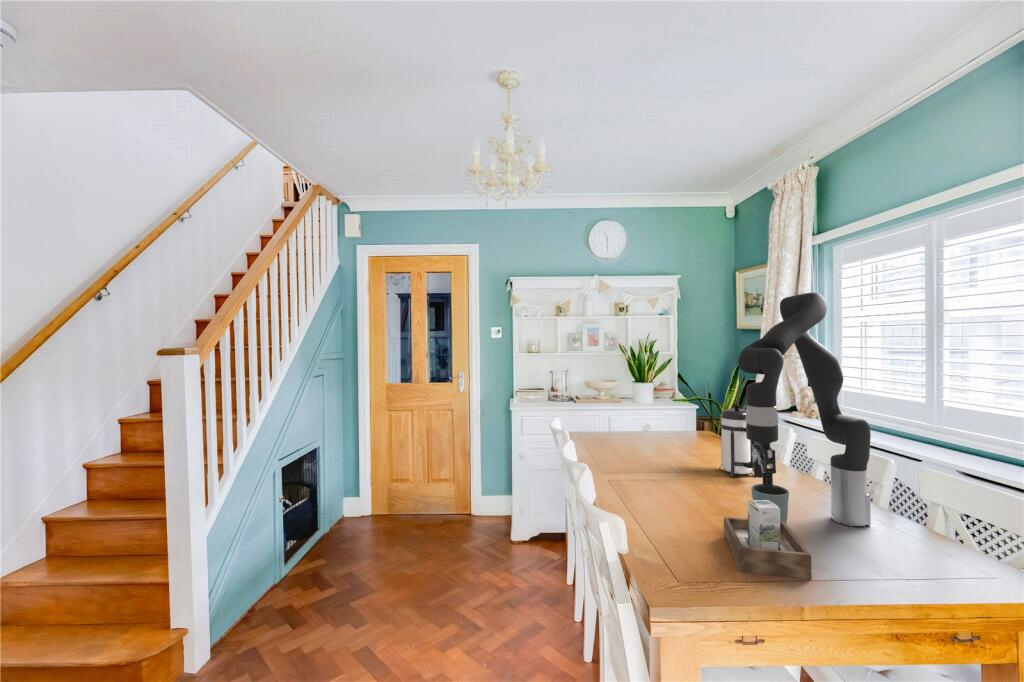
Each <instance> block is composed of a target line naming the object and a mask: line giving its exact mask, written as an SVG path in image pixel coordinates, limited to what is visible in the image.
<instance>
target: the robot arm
mask: <svg viewBox="0 0 1024 682" xmlns="http://www.w3.org/2000/svg"><path fill="white" fill-rule="evenodd" d="M827 309H828V306H827V302H826V300H825V298H824V296H823V295H822V294H820V293H819V292H805V293H801V294H795V295H791V296H786V297H784V298H782V299H781V300H780V303H779V312H780V316H781V319H782V321H780V322H779V323H776V324H775V325H773V326H772V327H771V328H770V329H769V330H768V331H767V332H766V333H765V334H764V335H763V336H762V337H761V338H760V339H758V340H755V341H754V342H752V343H750V344H749V345H747V346H745V347H744V348H743V349H742V350H741V352H740V353H739V355H738V358H737V365H738V367H739V369H740V370H741V371H742V372H744V373H746V374H749V375H750V374H751V375H764V376H763V379H762V380H761V381H759V382H751V383H748V384H747V385H746V390H745V391H746V393H745V394H746V409H745V410H746V437H747V439H749V440H750V441H751V459H753V460H752V462H753V463H755V464H754V471H753V475H754V476H755V477H754V478H756V479H757V478H759V479H761V478H762V484H763V487H764V488H772V487H773V485H774V483H773V482H774V481H773V480H774V477H773V475H774V474H777V466H776V464H777V463H776V450H775V449H773V448H772V447H771V444H772V443H775V442H776V443H777V442H778V441H779V413H778V408H777V407H778V406H777V389H778V384H779V380H780V377H781V374H782V371H783V369H784V368H783V367H784V357H783V356H784V355H786V353H787V352H788V350H789V349H790V348H791V347H792V345H793V344H794V346H795V348H796V351H797V353H798V356H799V359H800V362H801V364H802V368H803V370H804V374H805V376H806V379H807V382H808V384H809V386H810V389H811V392H812V395H813V397H814V401H815V403H816V406H817V411H818V415H819V418H820V423H821V428H822V431H823V433H824V436H825V437H826V438H827V439H828V441H829V442H832V443H835V444H839V445H842V446H845V449H844V452H843V453H839V454H838V453H837V454H833V455H831V457H830V518H832V519H833V521H834V522H835V521H836V522H835V523H838V524H840V523H842V524H841V525H843V524H845V526H847V525H849V526H848V527H853V526H864V527H866V526H865V525H871V526H872V524H871V522H872V521H871V520H872V519H871V495H870V494H869V493H868V464H869V460H870V456H871V455H870V453H871V452H870V451H871V450H870V449H871V434H872V433H871V428H870V425H869V423H868V421H867V420H865V419H864V418H860V417H855V416H849V415H844V414H843V413H842V412H841V409H840V406H839V402H838V397H839V394H840V391H841V389H842V387H843V383H844V373H843V371H842V368H841V366H840V363H839V360H838V358H837V356H836V355H835V354H834V353H833V352H832V351H830V350H829V349H828V348H826V346H824V345H823V344H822V343H820V342H819V341H818V340H816V339H815V338H814V337H813V336H812V334H811V333H809V330H811V329H812V328H813V327H814V326H816V325H817V324H819V323H820V322H821V321H823V320H824V319H825V317H826V315H827V312H828V311H827ZM768 467H769V468H768ZM832 519H831V520H832Z"/></svg>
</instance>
